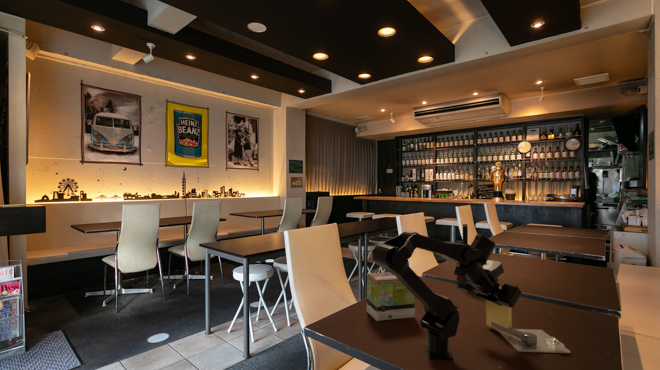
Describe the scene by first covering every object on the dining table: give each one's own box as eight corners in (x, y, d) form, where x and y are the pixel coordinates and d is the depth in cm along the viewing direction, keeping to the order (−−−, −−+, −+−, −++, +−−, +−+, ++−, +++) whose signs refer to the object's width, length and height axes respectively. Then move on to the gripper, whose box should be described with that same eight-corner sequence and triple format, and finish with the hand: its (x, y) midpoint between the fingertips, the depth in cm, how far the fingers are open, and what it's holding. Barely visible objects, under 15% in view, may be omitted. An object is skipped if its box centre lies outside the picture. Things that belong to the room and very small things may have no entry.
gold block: (540, 343, 94) (539, 305, 95) (531, 346, 93) (530, 307, 93) (491, 323, 109) (491, 290, 109) (483, 325, 107) (483, 292, 107)
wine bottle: (450, 287, 152) (449, 224, 153) (463, 284, 158) (462, 223, 159) (465, 291, 146) (464, 225, 147) (478, 288, 152) (477, 224, 152)
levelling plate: (570, 353, 91) (570, 342, 91) (518, 351, 92) (518, 341, 92) (541, 331, 105) (541, 322, 105) (496, 330, 106) (496, 321, 106)
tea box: (377, 322, 112) (377, 280, 113) (366, 312, 122) (366, 273, 122) (415, 317, 117) (415, 276, 117) (402, 308, 126) (401, 270, 126)
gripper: (516, 258, 92) (541, 292, 96) (463, 248, 108) (487, 277, 113) (498, 290, 88) (525, 323, 93) (446, 274, 105) (471, 303, 109)
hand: (500, 304), depth 102 cm, fingers closed
